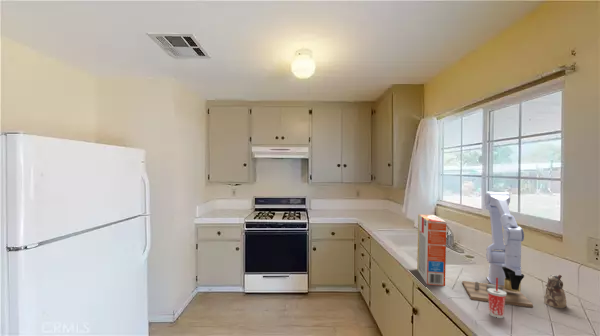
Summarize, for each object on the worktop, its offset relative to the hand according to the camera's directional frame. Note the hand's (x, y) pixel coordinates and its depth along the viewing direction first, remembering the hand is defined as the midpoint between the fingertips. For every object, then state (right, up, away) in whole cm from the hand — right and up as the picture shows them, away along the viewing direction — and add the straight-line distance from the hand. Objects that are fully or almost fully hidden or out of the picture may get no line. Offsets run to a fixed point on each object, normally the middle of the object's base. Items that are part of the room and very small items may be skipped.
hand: (512, 286), depth 136 cm
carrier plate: (-7, -4, +2) cm, 8 cm away
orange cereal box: (-26, -4, +23) cm, 35 cm away
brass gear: (0, -1, 0) cm, 1 cm away
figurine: (+12, -5, -7) cm, 15 cm away
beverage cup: (-18, -4, -18) cm, 26 cm away
